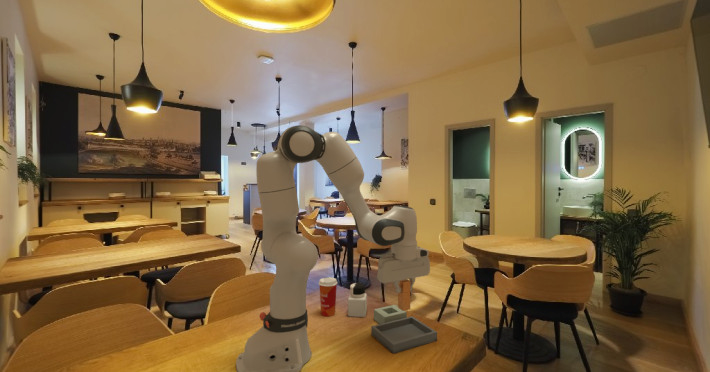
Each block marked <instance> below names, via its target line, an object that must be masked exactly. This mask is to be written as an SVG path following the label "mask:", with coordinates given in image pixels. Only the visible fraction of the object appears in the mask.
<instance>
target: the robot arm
mask: <svg viewBox="0 0 710 372" xmlns="http://www.w3.org/2000/svg"><path fill="white" fill-rule="evenodd" d="M312 161H316V162H318V163H319V166H321V167H322V169H323V171H324V173H325V174H326V176H327V177H328V179H329V180H330V181H331V183H332V184H333V186H334V187H335V189H336V190H337V192H339V194H340V196H341V197H342V199H343V201H344V202H345V203H346V204H345V205H346V206H347V208H348V210H349V211H350V213H351V215H352V216H353V219H354V225H355V230H356V233H357V234H358V237H360V238H361V239H362V240H364V241H368V242H370V243H372V244H375V245H377V246H381V247H388V246H391V248H390V249H391V252H390V253H389V254H382V255H381V256H380V257H379V259H378V262H377V263H378V266H377V274H376V275H377V276H376V279H377V280H378V281H379V282H380V283H382V284H384V285H385V284H390V283H392V284H393V286H394V287H395V293H397V294H398V293H402V288H401V287H400V286H399V285H398V284H399V283H400V281H401V280H406V279H407V280H409V281H410V292H411V291H413V286H414V284H415V282H416V278H420V277H425V276H429V274H430V272H431V261H430V258H429V256H430V250H429V249H427V248H423V247H420V246H418V241H417V234H418V221H417V220H418V218H417V213H416V211H415V209H414V208H413V207H410V206H404V205H400V204H398V205H397V204H396V205H393V207H392V208H391V209H390V210H388V211H387V212H385V213H383V214H381V215H378V214H377V213H375V212H374V211H372V210H371V209H370V207H369V205H368V203H367V202H366V200H365V198H364V196H363V194H362V193H361V188H360V187H361V185H362V183H363V181H364V178H365V171H364V168H363V166H362V163H361V162H360V160H359V158H358V156H357V155H356V153H355V151H353V149H352V148H351V146H350V145H349V143H348V142H347V140H345V138H344V137H343V136H342V135H341V134H340V133H339V132H337V131H328V132H325V133H323V134H321V133H319V132H317V131H316V130H314V129H312V128H311V127H308V126H306V125H293V126H290V127H287V129H285V130H284V131H283V132H282V133H281V135H280V136H279V139H278V141H277V144H276V147H275V150H274V151H271V152H267V153H264V154H263V155H261V156H259V157H258V158H257V161H256V184H257V185H256V186H257V192H258V199H259V203H260V209H261V215H262V239H261V241H260V250H261V251H262V254H263V256H264V257H265V259H266V260H267V261H268V262H270V263H272V264H274V266H275V275H274V278H273V279H274V281H273V283H272V284H271V286H270V288H269V312H268V313H266V312H261V313H260V314H259V318H260V320H261V321H263V322H262V323H263V324H262V326H261V327H260V328H259V329H258V330H257V331H255V333H253V334H252V335H251V336H250V337H249V338H248V339H247V340H246V343H245V344H244V351H243V352H241V353H240V354H238V356H237V358H236V361H235V362H236V364H235V368H236V371H237V372H300V371H301V370H302V368H303V366H304V365H305V364H306V363H308V361H309V360H310V359H311V358H312V353H313V352H312V350H311V346H310V341H309V337H308V336H309V335H308V329H307V328H308V324H309V323H308V322H309V313H308V309H307V284H308V279H309V276H310V273H311V271H312V270H313V269H314V268H315V267H316V265H317V263H318V260H319V250H318V249H317V247H316V245H315V244H314V243H313V242H312V241H311V240H310V239H308V238H307V237H306V236H303V235H299V234H298V232H297V229H296V227H297V225H296V223H297V216H298V215H299V213H300V206H299V199H298V193H297V188H296V183H295V176H294V175H295V174H294V170H295V168H296V165H298V164H304V163H308V162H312Z"/></svg>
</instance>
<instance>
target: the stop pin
mask: <svg viewBox="0 0 710 372" xmlns="http://www.w3.org/2000/svg"><path fill="white" fill-rule="evenodd" d="M398 285H399V286H400V287H401V288H402V293H397V306H398V308H399V309H401V310H402V311H406V312H407V311H409V310H411V291H410V281H409V279H406V280H401V281H400V283H399V284H398Z"/></svg>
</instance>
